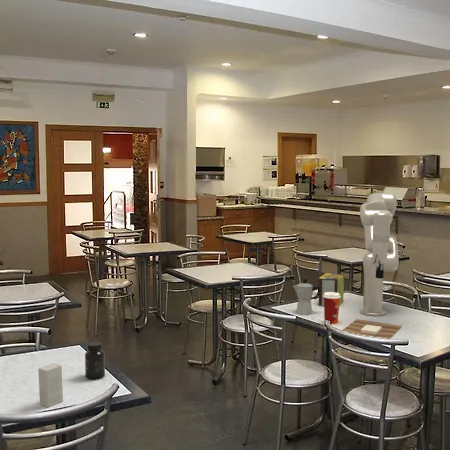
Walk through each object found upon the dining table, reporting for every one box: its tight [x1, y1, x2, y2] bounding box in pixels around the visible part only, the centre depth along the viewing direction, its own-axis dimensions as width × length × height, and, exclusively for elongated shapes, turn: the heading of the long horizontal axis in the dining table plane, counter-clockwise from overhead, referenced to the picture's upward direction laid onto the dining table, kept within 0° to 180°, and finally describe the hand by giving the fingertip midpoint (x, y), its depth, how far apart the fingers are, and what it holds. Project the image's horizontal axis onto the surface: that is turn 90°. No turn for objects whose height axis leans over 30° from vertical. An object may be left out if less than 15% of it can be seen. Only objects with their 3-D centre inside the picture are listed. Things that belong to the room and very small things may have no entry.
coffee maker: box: [292, 277, 322, 316], centre depth 289 cm, size 15×9×18 cm, turn 83°
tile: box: [361, 325, 382, 335], centre depth 254 cm, size 2×7×9 cm
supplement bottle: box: [84, 341, 106, 381], centre depth 201 cm, size 7×7×12 cm
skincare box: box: [37, 362, 64, 408], centre depth 179 cm, size 6×4×12 cm
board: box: [341, 318, 403, 340], centre depth 258 cm, size 24×22×1 cm
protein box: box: [318, 272, 345, 307], centre depth 308 cm, size 10×15×16 cm
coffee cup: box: [323, 292, 340, 325], centre depth 269 cm, size 8×8×15 cm
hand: (379, 278), depth 261 cm, fingers closed
